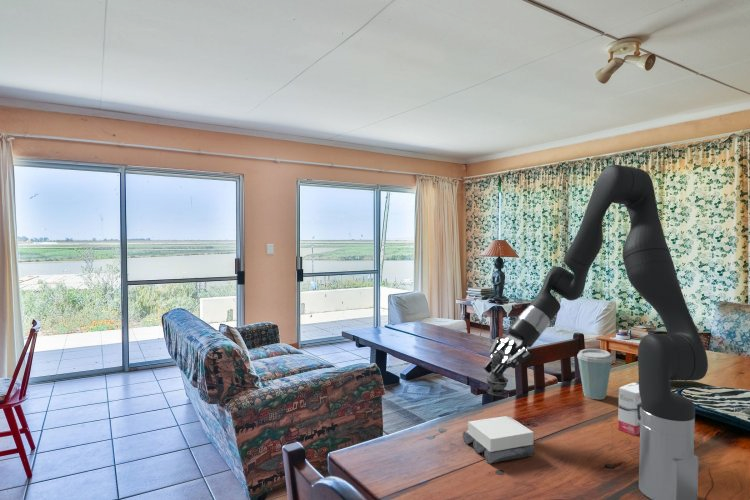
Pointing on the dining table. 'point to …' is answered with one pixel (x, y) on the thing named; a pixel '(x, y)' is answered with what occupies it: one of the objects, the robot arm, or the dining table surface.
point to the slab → (500, 433)
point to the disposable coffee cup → (594, 372)
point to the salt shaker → (494, 382)
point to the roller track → (501, 454)
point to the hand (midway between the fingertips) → (490, 372)
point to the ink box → (629, 409)
